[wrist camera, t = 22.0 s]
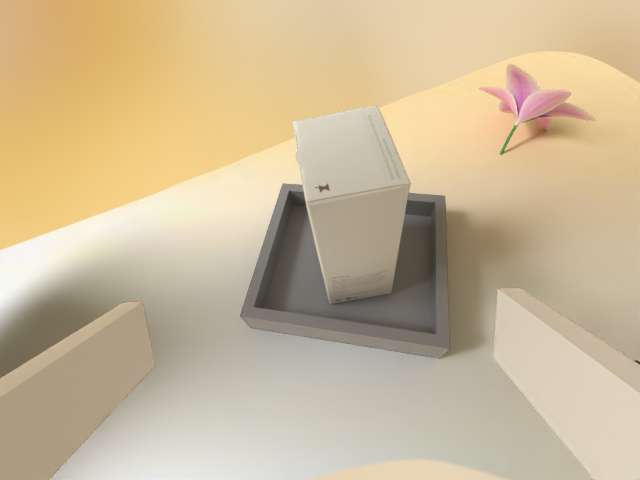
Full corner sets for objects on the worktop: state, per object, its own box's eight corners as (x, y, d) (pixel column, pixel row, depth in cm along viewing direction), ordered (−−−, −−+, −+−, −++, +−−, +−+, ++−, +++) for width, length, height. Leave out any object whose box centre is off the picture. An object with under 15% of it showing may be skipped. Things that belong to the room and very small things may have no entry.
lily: (576, 170, 40) (626, 86, 35) (515, 169, 35) (564, 71, 30) (498, 141, 49) (529, 71, 44) (440, 137, 44) (468, 58, 39)
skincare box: (391, 295, 31) (418, 188, 18) (324, 307, 31) (302, 207, 18) (372, 226, 35) (382, 100, 22) (313, 236, 35) (289, 116, 22)
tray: (250, 327, 31) (239, 316, 29) (288, 202, 40) (282, 183, 37) (439, 358, 28) (449, 348, 25) (438, 215, 37) (445, 195, 34)
